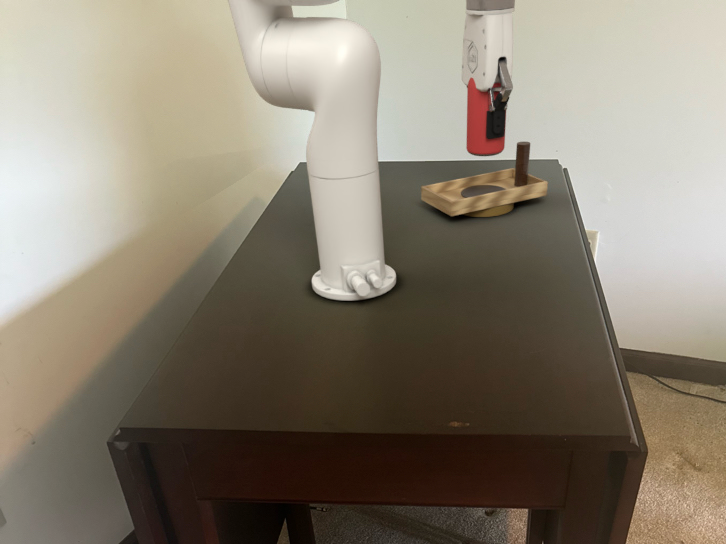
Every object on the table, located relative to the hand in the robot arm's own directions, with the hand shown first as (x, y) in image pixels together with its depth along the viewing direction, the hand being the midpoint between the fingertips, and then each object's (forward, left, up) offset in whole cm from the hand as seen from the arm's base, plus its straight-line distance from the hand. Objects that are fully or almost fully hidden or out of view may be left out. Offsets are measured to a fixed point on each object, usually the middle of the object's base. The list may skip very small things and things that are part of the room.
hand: (485, 132), depth 115 cm
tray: (0, 0, -10) cm, 10 cm away
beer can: (0, 0, -3) cm, 3 cm away
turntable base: (0, 0, -12) cm, 12 cm away
